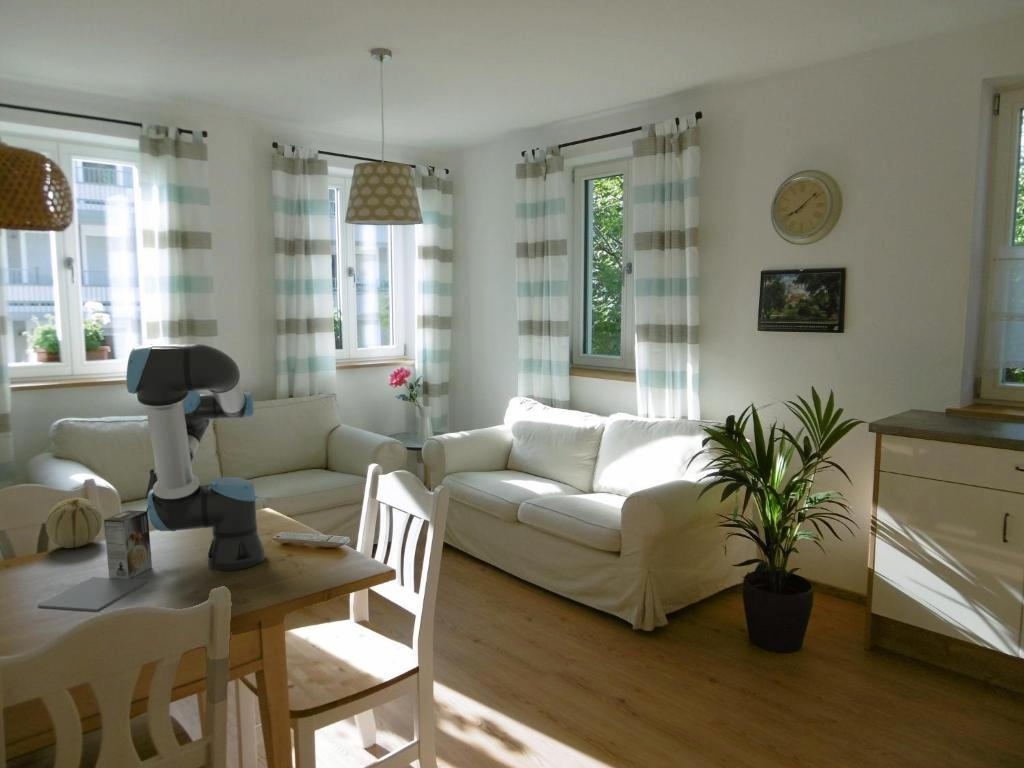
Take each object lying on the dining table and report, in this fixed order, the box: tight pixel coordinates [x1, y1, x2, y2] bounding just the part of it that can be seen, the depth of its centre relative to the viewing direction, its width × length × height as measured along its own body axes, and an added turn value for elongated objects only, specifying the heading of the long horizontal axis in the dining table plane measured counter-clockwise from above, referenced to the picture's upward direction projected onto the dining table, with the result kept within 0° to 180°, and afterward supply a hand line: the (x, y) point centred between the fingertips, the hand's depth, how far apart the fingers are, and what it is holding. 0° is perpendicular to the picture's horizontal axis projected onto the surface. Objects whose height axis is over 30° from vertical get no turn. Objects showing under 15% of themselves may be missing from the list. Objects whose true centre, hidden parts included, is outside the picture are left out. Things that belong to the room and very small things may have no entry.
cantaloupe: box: [45, 497, 103, 549], centre depth 218 cm, size 15×15×15 cm
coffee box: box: [103, 509, 153, 579], centre depth 196 cm, size 9×6×16 cm
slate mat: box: [37, 576, 148, 612], centre depth 182 cm, size 16×18×1 cm
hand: (148, 523), depth 204 cm, fingers closed
